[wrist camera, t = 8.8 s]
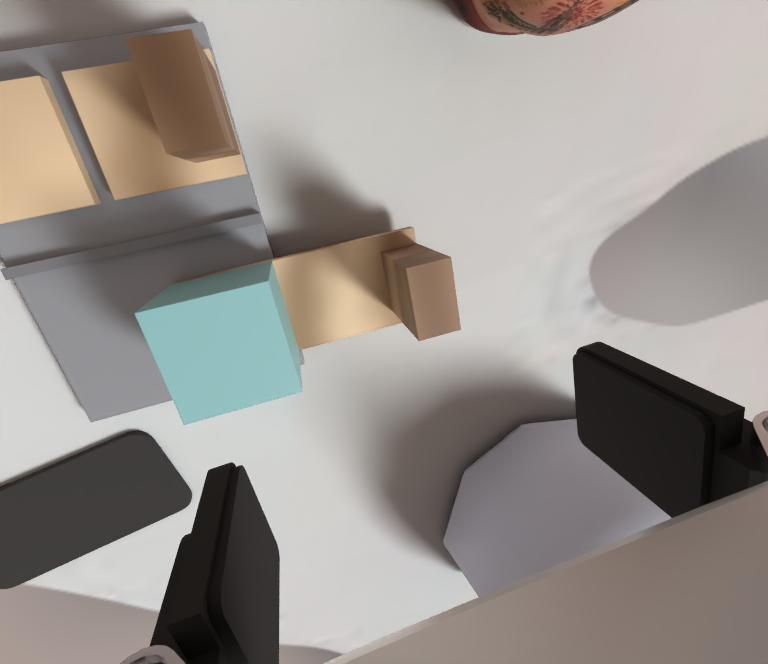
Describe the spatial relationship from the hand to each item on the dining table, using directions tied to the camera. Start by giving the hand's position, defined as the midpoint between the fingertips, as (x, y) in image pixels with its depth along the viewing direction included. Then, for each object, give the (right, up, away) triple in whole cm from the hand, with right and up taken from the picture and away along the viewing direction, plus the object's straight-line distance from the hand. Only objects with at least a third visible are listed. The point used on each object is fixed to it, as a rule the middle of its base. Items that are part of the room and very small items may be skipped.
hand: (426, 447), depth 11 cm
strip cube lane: (-6, +5, +16) cm, 18 cm away
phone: (-23, -9, +19) cm, 31 cm away
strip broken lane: (-13, +14, +11) cm, 22 cm away
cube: (-10, +4, +14) cm, 18 cm away
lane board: (-16, +8, +14) cm, 22 cm away
